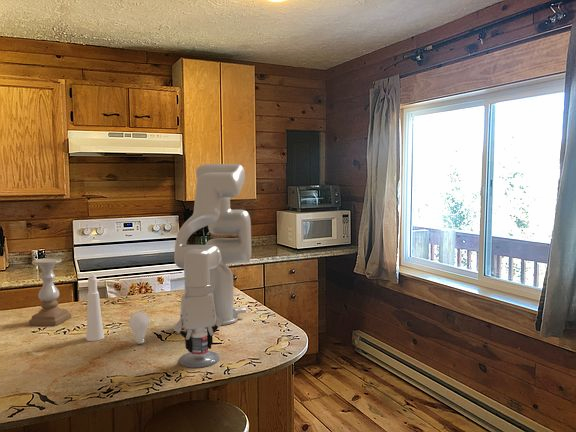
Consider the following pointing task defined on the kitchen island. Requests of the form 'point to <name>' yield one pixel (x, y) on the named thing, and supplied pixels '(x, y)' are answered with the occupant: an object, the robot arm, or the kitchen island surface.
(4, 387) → the kitchen island surface
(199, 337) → the pill bottle
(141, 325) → the light bulb
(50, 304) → the candle holder
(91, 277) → the cosmetic bottle
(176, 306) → the kitchen island surface
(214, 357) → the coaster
